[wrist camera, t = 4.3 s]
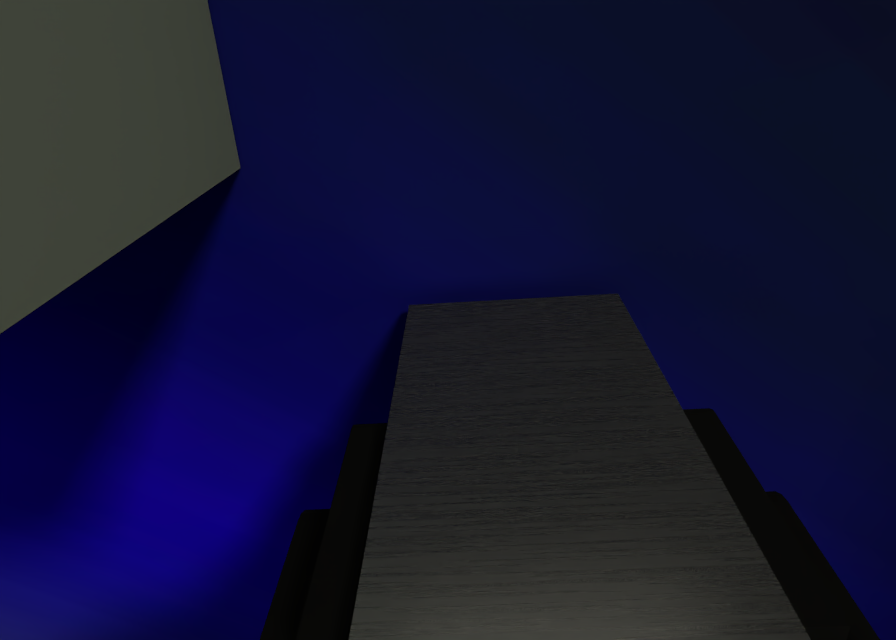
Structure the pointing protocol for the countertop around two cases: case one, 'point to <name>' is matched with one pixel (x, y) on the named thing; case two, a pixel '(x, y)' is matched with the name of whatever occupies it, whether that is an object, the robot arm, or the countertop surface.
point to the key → (552, 490)
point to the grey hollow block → (101, 133)
